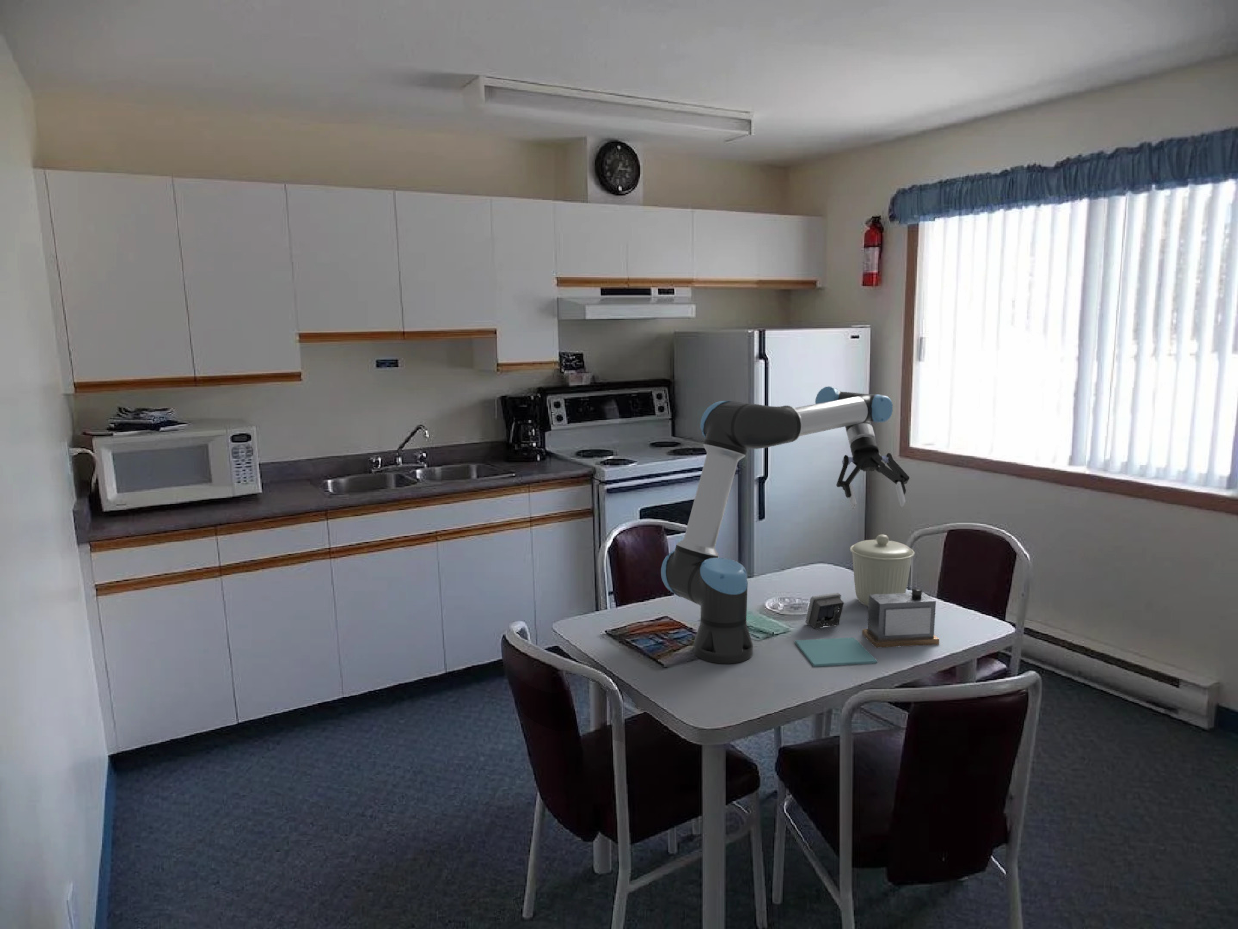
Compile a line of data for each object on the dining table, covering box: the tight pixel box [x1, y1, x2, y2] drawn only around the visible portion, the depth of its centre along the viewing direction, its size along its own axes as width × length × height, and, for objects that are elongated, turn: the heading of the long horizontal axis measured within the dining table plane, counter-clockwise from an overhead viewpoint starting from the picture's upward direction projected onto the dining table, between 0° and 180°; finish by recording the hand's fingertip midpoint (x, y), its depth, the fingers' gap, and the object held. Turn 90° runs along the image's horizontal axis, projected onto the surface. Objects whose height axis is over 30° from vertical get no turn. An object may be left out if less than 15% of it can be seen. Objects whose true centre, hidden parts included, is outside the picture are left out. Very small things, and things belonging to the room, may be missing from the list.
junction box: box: [861, 587, 940, 649], centre depth 210 cm, size 17×9×14 cm, turn 95°
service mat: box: [794, 636, 878, 668], centre depth 204 cm, size 16×15×1 cm
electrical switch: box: [804, 592, 845, 630], centre depth 221 cm, size 9×5×9 cm, turn 109°
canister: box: [849, 533, 915, 607], centre depth 237 cm, size 18×18×21 cm
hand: (878, 505), depth 222 cm, fingers open, 13 cm apart
